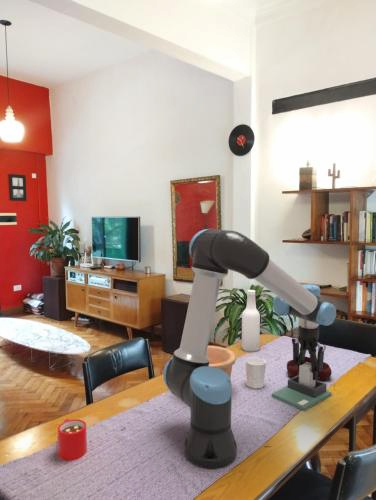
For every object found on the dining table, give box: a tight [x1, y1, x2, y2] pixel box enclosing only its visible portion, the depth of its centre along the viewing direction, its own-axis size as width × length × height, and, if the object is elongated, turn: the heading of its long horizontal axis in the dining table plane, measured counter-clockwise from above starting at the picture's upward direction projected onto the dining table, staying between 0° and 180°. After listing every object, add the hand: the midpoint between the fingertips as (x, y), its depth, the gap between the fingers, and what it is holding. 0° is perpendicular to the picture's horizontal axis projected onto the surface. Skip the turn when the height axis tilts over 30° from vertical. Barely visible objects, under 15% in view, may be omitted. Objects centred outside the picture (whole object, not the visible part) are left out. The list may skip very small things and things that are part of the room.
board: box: [271, 375, 333, 412], centre depth 148 cm, size 18×14×4 cm
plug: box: [299, 362, 312, 387], centre depth 151 cm, size 5×4×8 cm
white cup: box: [245, 356, 267, 390], centre depth 157 cm, size 8×8×10 cm
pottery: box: [206, 345, 237, 379], centre depth 152 cm, size 22×22×14 cm
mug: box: [57, 418, 88, 462], centre depth 115 cm, size 8×12×8 cm, turn 34°
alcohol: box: [241, 289, 261, 353], centre depth 197 cm, size 9×9×30 cm
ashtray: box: [286, 355, 332, 381], centre depth 169 cm, size 18×16×5 cm
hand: (307, 385), depth 151 cm, fingers closed on plug, 4 cm apart
